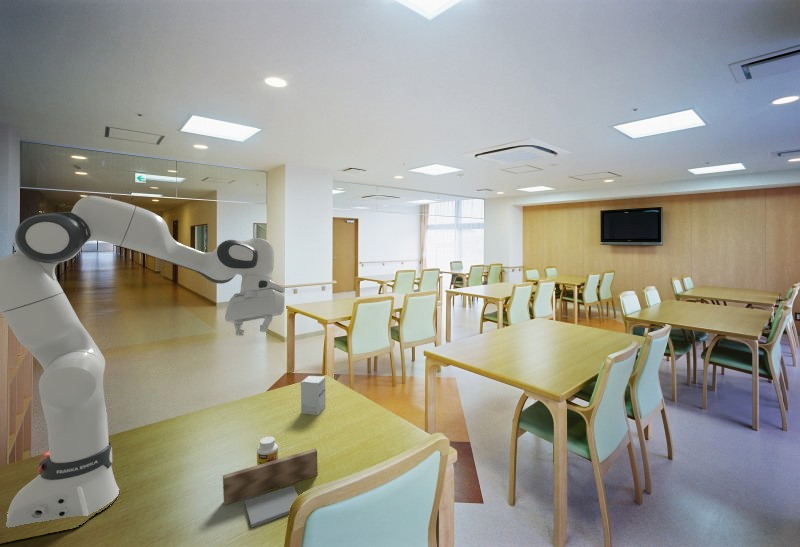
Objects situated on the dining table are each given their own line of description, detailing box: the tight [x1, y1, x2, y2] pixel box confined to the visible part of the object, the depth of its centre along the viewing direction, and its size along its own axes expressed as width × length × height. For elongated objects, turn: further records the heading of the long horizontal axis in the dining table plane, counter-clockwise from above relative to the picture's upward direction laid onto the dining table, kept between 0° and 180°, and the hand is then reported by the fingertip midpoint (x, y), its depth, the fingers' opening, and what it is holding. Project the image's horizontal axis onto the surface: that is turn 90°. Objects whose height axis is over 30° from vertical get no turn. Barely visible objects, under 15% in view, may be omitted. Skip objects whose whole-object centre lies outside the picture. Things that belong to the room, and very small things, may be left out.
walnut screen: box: [222, 448, 319, 506], centre depth 99 cm, size 24×2×7 cm, turn 121°
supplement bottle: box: [256, 436, 279, 466], centre depth 105 cm, size 6×6×10 cm
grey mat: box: [244, 485, 299, 528], centre depth 92 cm, size 12×9×1 cm
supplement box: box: [300, 375, 327, 416], centre depth 145 cm, size 7×7×13 cm
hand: (251, 333), depth 109 cm, fingers open, 8 cm apart
